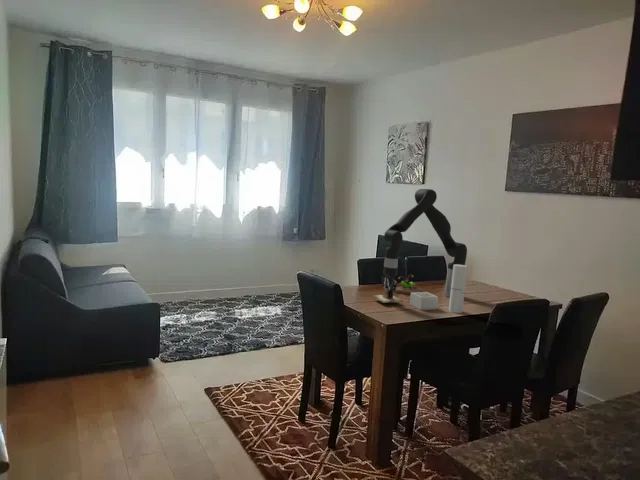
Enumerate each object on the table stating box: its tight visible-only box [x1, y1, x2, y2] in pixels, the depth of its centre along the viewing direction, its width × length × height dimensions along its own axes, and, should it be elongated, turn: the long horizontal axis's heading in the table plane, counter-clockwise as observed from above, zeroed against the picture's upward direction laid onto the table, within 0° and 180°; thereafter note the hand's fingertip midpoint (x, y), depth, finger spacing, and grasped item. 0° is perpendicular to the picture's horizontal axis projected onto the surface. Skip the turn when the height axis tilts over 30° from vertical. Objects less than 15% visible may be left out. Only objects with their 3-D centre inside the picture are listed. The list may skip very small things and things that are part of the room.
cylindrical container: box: [448, 264, 468, 314], centre depth 249 cm, size 7×7×25 cm
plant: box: [393, 274, 424, 296], centre depth 290 cm, size 20×20×11 cm
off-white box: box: [409, 291, 439, 311], centre depth 254 cm, size 11×11×7 cm
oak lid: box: [373, 287, 404, 303], centre depth 258 cm, size 12×12×6 cm
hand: (388, 296), depth 258 cm, fingers closed on oak lid, 4 cm apart
